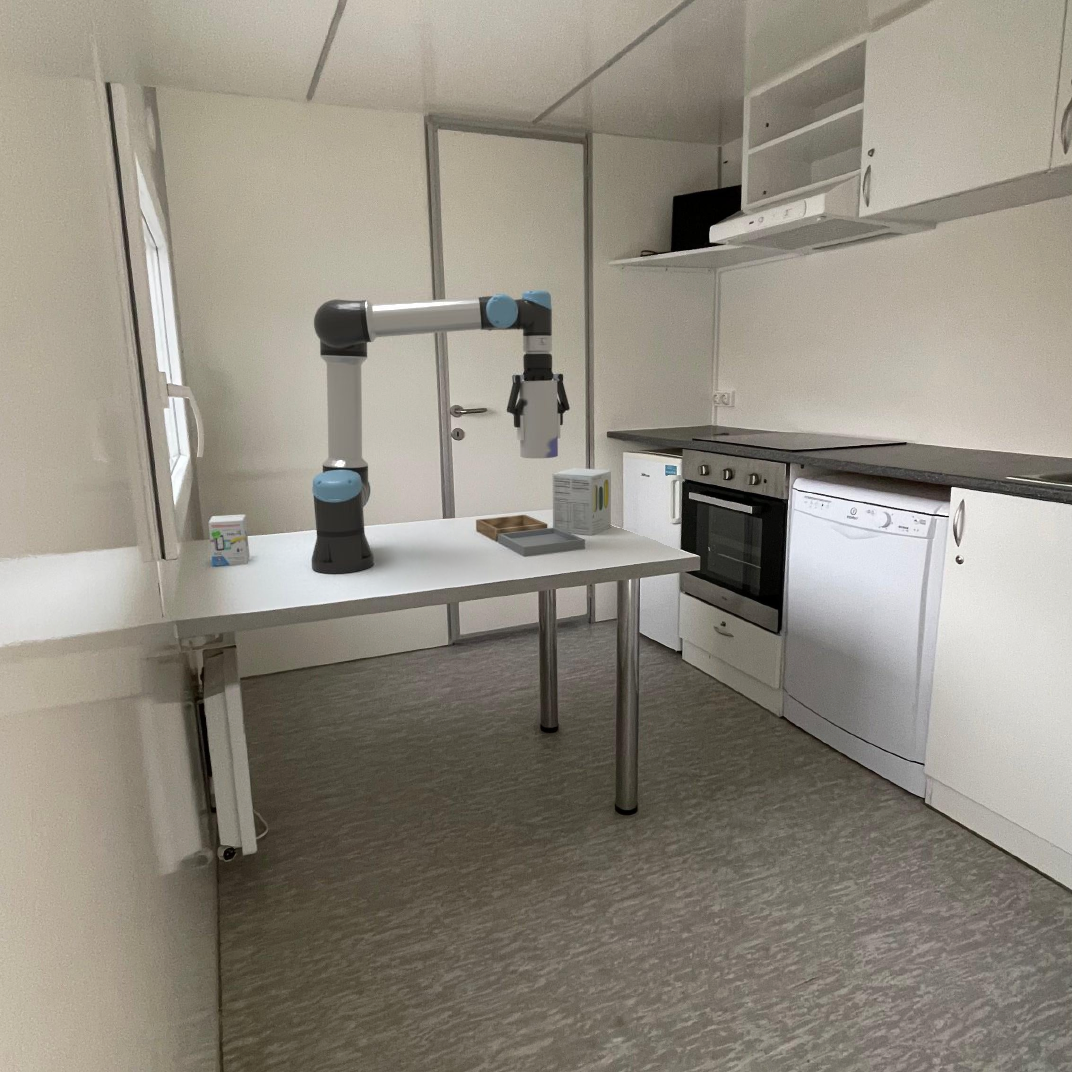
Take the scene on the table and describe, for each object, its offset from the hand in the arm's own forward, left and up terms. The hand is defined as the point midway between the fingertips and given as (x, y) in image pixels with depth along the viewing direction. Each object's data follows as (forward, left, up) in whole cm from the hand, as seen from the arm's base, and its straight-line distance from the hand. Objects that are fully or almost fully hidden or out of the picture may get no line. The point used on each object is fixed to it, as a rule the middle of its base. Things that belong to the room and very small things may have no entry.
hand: (538, 438), depth 207 cm
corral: (-1, +18, -29) cm, 34 cm away
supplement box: (+20, +13, -30) cm, 38 cm away
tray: (0, 0, -29) cm, 29 cm away
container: (0, 0, -5) cm, 5 cm away
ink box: (-78, +23, -30) cm, 87 cm away
